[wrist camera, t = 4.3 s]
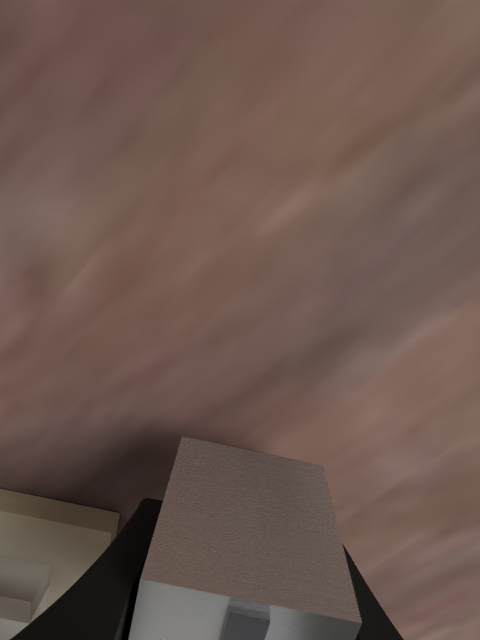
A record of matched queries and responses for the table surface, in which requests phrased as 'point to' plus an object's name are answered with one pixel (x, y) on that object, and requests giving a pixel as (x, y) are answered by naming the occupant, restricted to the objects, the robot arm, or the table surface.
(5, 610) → the beige square tray
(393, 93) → the table surface
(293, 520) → the block
